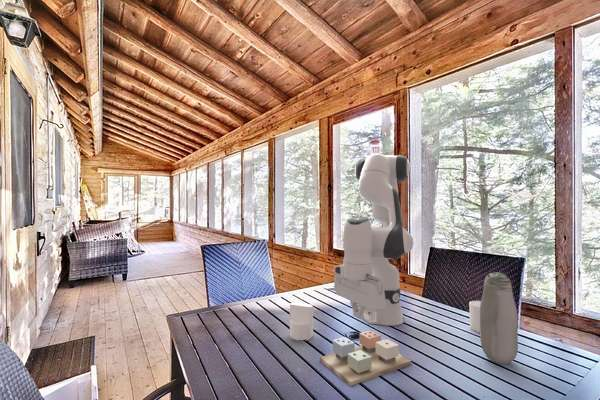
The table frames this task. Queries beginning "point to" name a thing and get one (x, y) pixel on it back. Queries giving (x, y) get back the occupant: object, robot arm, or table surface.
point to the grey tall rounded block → (498, 319)
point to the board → (378, 368)
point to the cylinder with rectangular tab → (301, 321)
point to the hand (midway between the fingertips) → (358, 317)
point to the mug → (475, 315)
